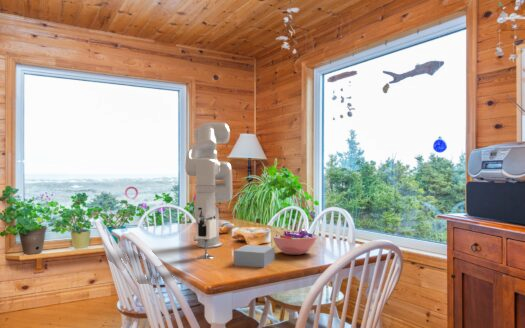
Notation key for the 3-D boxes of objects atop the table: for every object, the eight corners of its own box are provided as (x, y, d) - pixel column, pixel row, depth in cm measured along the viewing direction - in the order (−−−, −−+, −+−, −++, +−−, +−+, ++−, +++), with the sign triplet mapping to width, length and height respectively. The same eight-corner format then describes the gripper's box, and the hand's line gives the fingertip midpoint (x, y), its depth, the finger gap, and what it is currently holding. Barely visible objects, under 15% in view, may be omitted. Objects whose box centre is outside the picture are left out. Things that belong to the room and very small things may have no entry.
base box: (233, 265, 154) (233, 250, 154) (246, 258, 166) (246, 244, 166) (264, 268, 149) (264, 252, 149) (274, 260, 161) (274, 246, 161)
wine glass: (200, 259, 163) (199, 224, 163) (194, 256, 170) (194, 222, 170) (217, 257, 166) (217, 223, 167) (211, 254, 173) (211, 221, 174)
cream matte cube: (195, 238, 150) (195, 220, 150) (203, 235, 156) (202, 218, 156) (209, 239, 148) (209, 221, 148) (216, 236, 154) (216, 218, 154)
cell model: (273, 250, 181) (272, 226, 181) (315, 249, 181) (314, 225, 181) (272, 258, 164) (272, 232, 164) (319, 258, 164) (319, 231, 164)
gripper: (207, 187, 161) (207, 230, 161) (186, 191, 145) (186, 238, 145) (223, 188, 159) (224, 231, 159) (204, 191, 142) (204, 239, 143)
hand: (206, 234), depth 152 cm, fingers closed on cream matte cube, 6 cm apart
